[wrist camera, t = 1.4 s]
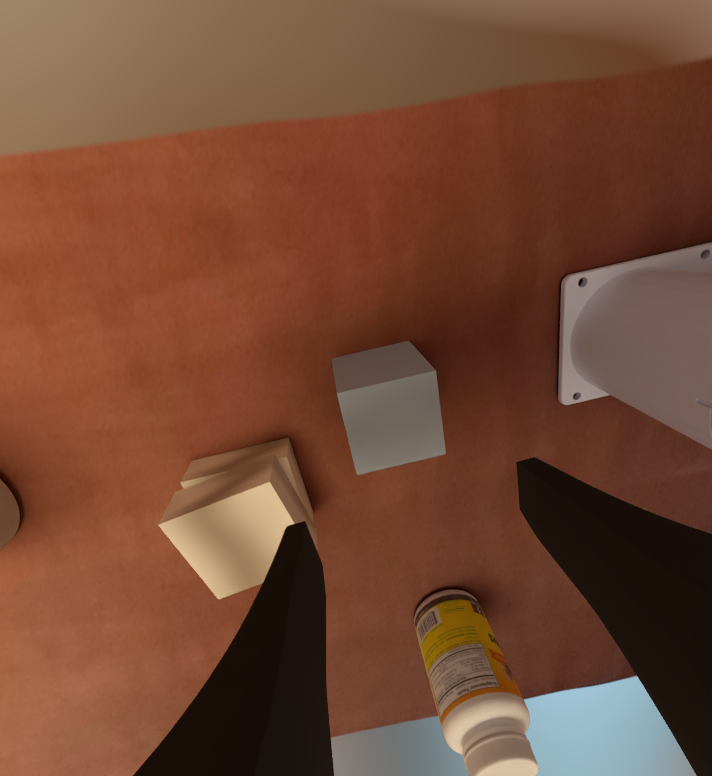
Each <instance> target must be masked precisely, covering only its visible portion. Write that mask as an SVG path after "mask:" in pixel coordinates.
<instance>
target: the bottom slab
mask: <svg viewBox="0 0 712 776" xmlns="http://www.w3.org/2000/svg"><path fill="white" fill-rule="evenodd" d="M272 454H275V456H276V458H277V459H278V461H279V463H280V465H281V466H282V468H283V470H284V472H285V473H286V475H287V477H288V479H289V481H290V482H291V484H292V486H293V488H294V489H295V491H296V493H297V495H298V496H299V498H300V500H301V502H302V504H303V505H304V507H305V509H306V511H307V512H308V514H309V516H310V518H311V519H312V521H313V510H312V507H311V504H310V501H309V498H308V495H307V492H306V489H305V486H304V483H303V480H302V477H301V473H300V470H299V467H298V464H297V461H296V458H295V455H294V452H293V449H292V446H291V443H290V440H289V438H285V439H281V440H277V441H272V442H268V443H264V444H260V445H256V446H251V447H247V448H243V449H239V450H235V451H231V452H226V453H222V454H218V455H214V456H210V457H205V458H201V459H197V460H193V461H191V463H190V465H189V467H188V469H187V471H186V473H185V475H184V477H183V478H182V480H181V482H180V483H181V485H182V487H183V489H184V488H187V487H190V486H192V485H195V484H197V483H200V482H202V481H205V480H208V479H210V478H213V477H215V476H218V475H220V474H223V473H226V472H228V471H231V470H233V469H236V468H238V467H241V466H243V465H246V464H249V463H251V462H254V461H256V460H259V459H261V458H264V457H267V456H269V455H272Z"/></svg>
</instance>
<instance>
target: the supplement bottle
mask: <svg viewBox="0 0 712 776" xmlns="http://www.w3.org/2000/svg"><path fill="white" fill-rule="evenodd" d="M414 624H415V629H416V633H417V636H418V640H419V644H420V648H421V652H422V655H423V659H424V663H425V667H426V670H427V674H428V678H429V682H430V685H431V689H432V693H433V697H434V700H435V704H436V708H437V711H438V715H439V719H440V723H441V727H442V730H443V734H444V737H445V740H446V742H447V743H448V745H449V746H450V747H451V748H452V749H453V750H454V751H456V752H458V753H460V754H462V755H463V759H464V763H465V766H466V768H467V771H468V774H469V776H536V775H537V773H538V769H539V768H538V764H537V762H536V759H535V757H534V754H533V752H532V749H531V746H530V742H529V741H528V739H527V738H526V735H525V733H526V731H527V729H528V727H529V722H530V716H529V712H528V709H527V706H526V704H525V702H524V700H523V697H522V695H521V693H520V691H519V689H518V686H517V684H516V682H515V680H514V678H513V676H512V673H511V671H510V669H509V667H508V665H507V663H506V660H505V658H504V656H503V654H502V652H501V650H500V647H499V645H498V643H497V641H496V639H495V637H494V635H493V632H492V630H491V628H490V626H489V624H488V622H487V619H486V617H485V615H484V613H483V611H482V609H481V606H480V604H479V603H478V601H477V600H476V599H475V598H474V597H473V596H472V595H471V594H469V593H467V592H465V591H462V590H444V591H440V592H437V593H435V594H433V595H431V596H429V597H428V598H426V599H425V600H424V601H423V602H422V603H421V604H420V605H419V607H418V608H417V610H416V613H415V617H414Z"/></svg>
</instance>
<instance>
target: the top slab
mask: <svg viewBox="0 0 712 776" xmlns="http://www.w3.org/2000/svg"><path fill="white" fill-rule="evenodd" d="M303 521H306V524H307V526H308V529H309V532H310V534H311V537H312V539H313V542H314V544H315V547H316V550H317V528H316V527H315V525H314V523H313V521H312V519H311V518H310V516H309V514H308V512H307V511H306V509H305V507H304V505H303V504H302V502H301V500H300V498H299V496H298V495H297V493H296V491H295V489H294V488H293V486H292V484H291V482H290V481H289V479H288V477H287V475H286V473H285V472H284V470H283V468H282V466H281V465H280V463H279V461H278V459H277V458H276V456H275V454H272V455H269V456H267V457H264V458H261V459H259V460H256V461H254V462H251V463H249V464H246V465H243V466H241V467H238V468H236V469H233V470H231V471H228V472H226V473H223V474H220V475H218V476H215V477H213V478H210V479H208V480H205V481H202V482H200V483H197V484H195V485H192V486H190V487H187V488H184V489H182V490H179V491H177V492H175V493H174V495H173V497H172V499H171V501H170V503H169V505H168V506H167V508H166V510H165V512H164V514H163V516H162V518H161V520H160V522H159V524H158V526H159V527H160V528H161V529H162V530H163V532H164V533H165V534H166V535H167V537H168V538H169V539H170V540H171V542H172V543H173V544H174V545H175V547H176V548H177V549H178V550H179V551H180V553H181V554H182V555H183V556H184V558H185V559H186V560H187V561H188V563H189V564H190V565H191V566H192V567H193V569H194V570H195V571H196V572H197V574H198V575H199V576H200V577H201V579H202V580H203V581H204V582H205V583H206V585H207V586H208V587H209V588H210V590H211V591H212V592H213V593H214V595H215V596H216V597H217V598H218V599H221V598H224V597H226V596H229V595H232V594H234V593H237V592H240V591H242V590H245V589H248V588H250V587H253V586H256V585H258V584H261V583H263V582H264V579H265V577H266V575H267V573H268V570H269V568H270V566H271V564H272V561H273V559H274V556H275V554H276V552H277V549H278V547H279V544H280V541H281V539H282V536H283V534H284V531H285V529H286V527H287V526H289V525H292V524H296V523H300V522H303Z"/></svg>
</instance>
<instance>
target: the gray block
mask: <svg viewBox="0 0 712 776" xmlns="http://www.w3.org/2000/svg"><path fill="white" fill-rule="evenodd" d="M331 359H332V366H333V372H334V378H335V385H336V391H337V396H338V400H339V404H340V408H341V412H342V416H343V421H344V425H345V429H346V433H347V437H348V441H349V445H350V449H351V453H352V457H353V461H354V465H355V469H356V473H357V475H360V474H364V473H368V472H372V471H376V470H381V469H385V468H389V467H393V466H398V465H402V464H406V463H410V462H414V461H419V460H423V459H427V458H431V457H436V456H440V455H444V454H446V450H445V442H444V433H443V425H442V417H441V409H440V400H439V392H438V384H437V375H436V370H435V369H434V368H433V367H432V366H431V365H430V363H429V362H428V361H427V360H426V359H425V358H424V357H423V356H422V355H421V353H420V352H419V351H418V350H417V349H416V348H415V347H414V346H413V345H412V344H411V342H410V341H405V342H401V343H396V344H392V345H388V346H383V347H379V348H375V349H370V350H366V351H361V352H357V353H353V354H348V355H344V356H340V357H335V358H331Z"/></svg>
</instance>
